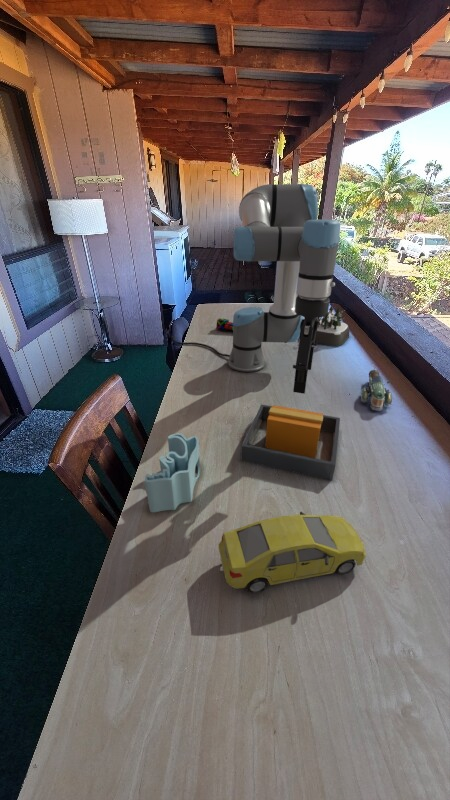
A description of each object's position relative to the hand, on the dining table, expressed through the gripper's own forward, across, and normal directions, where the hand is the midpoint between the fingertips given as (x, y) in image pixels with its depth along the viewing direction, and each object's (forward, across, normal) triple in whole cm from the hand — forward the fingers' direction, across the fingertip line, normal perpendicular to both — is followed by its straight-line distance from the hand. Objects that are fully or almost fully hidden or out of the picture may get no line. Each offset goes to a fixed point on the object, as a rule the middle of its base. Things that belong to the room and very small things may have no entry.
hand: (302, 380), depth 90 cm
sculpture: (+20, +86, +38) cm, 96 cm away
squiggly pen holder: (+21, -25, +25) cm, 42 cm away
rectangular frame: (+21, 0, +1) cm, 21 cm away
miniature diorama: (+20, +91, -2) cm, 93 cm away
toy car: (+22, -37, -5) cm, 43 cm away
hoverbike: (+21, +38, -23) cm, 49 cm away
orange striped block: (+21, 0, +1) cm, 21 cm away
